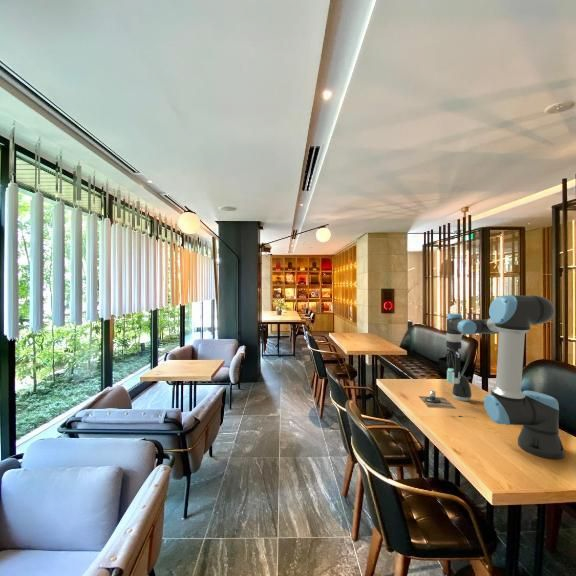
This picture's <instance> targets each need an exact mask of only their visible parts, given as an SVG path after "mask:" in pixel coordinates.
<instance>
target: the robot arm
mask: <svg viewBox="0 0 576 576" xmlns="http://www.w3.org/2000/svg"><path fill="white" fill-rule="evenodd" d="M555 312H556V310H555V306H554V304H553V303H552V302H551V301H550V300H549V299H548V298H546V297H543V296H539V295H512V294H508V295H499V296H497V297H496V298H494V300H492V302H491V303H490V306H489V310H488V313H489V318H487V319H485V318H484V319H469V318H467V319H466V318H463V315H462V314H461V313H448V314H447V315H446V337H445V338H446V344H445V346H446V348H447V349H446V353H447V354H446V366H447V369H448V368H454V371H452V372H453V383H454V384H458V380H459V372H460V373H461V370H462V369H461V367H462V366H461V362H462V361H461V358H462V354H461V353H459V350H461V348H462V342H461V341H462V338H463V335H467V336H468V335H469V336H470V335H473V334H475V335H477V334H482V335H484V334H485V335H486V334H488V335H489V334H490V335H497V334H498V344H497V345H498V346H497V347H498V348H497V360H496V361H497V363H496V375H495V376H496V378H495V385H494V386H493V387H491V391H490V394H487V395H485V396H484V398H483V404H484V405H483V407H484V409H485V412H486V413H487V416H488V417H489V418H490V420H491V421H492V422H494V423H495V424H498V425H505V426H512V425H514V426H522V428H521V430H520V433H519V435H518V437H517V445H518V447H520V448H521V449H522V450H523V451H525V452H527V453H529V454H532V455H535V456H538V457H542V458H545V459H552V460H553V459H554V460H559V459H560V460H561V459H563V458H564V457H565V449H564V445H563V443H562V441H561V438H560V435H559V433H560V432H559V423H560V421H559V419H560V408H559V401H558V399H556V398H555V397H553V396H551V395H548V394H545V393H541V392H538V391H533V390H523V391H522V384H523V382H522V381H523V368H524V352H525V336H526V335H525V334H526V333H528V332H529V331H531V326H536V325H540V324H545V323H547V322H550V321H551V320H553V318H554V316H555V314H556V313H555ZM462 334H463V335H462ZM453 383H452V384H453ZM454 384H453V385H454Z"/></svg>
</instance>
